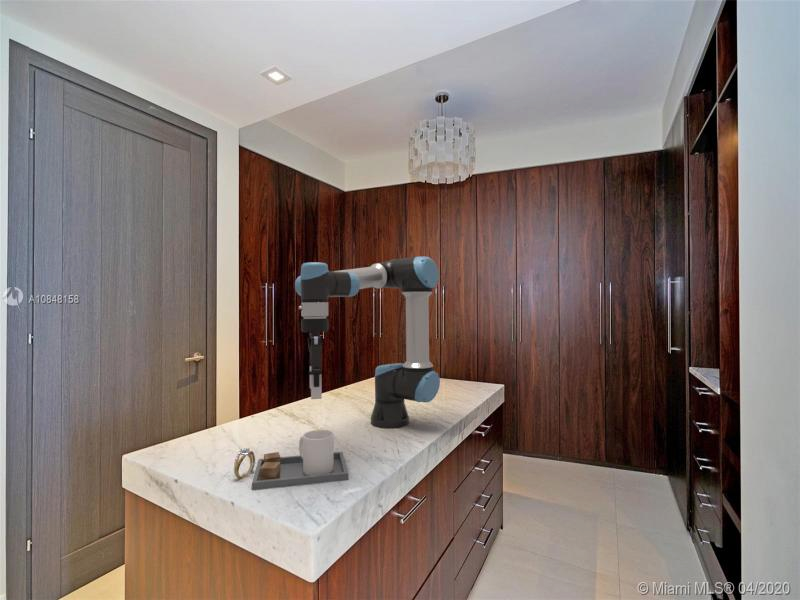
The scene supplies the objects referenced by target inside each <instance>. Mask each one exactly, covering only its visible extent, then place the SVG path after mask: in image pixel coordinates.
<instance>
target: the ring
mask: <svg viewBox="0 0 800 600" xmlns="http://www.w3.org/2000/svg"><path fill="white" fill-rule="evenodd" d="M246 456H247V457H248V458H249V461H250V462H249V463H250V464H249V469H248V471H247V472H246V473H245V474H244V473H243V475H240V473H239V471H240V467H241V464H242V463H243V461H244V459H245V458H246ZM255 463H256V456H255V453H254V451H252V450H251V449H250V447H248V448H247V447H246V448H245V447H244V448H241V449H240V450H239V451H238V452H237V454H236V456H235V459H234V464H233V473H234V474H233V475H234V477H236V478H237V479H239V480H241V479H243V478H245V477H247V476H249V475H250V474H252V472H253V470H254V467H255V466H256V465H255Z"/></svg>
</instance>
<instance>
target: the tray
mask: <svg viewBox="0 0 800 600" xmlns="http://www.w3.org/2000/svg"><path fill="white" fill-rule="evenodd" d="M263 464H264V458H258V460H257V464H256V467H255V471H254V475H253V478H252V481H251V490H252V491H256V490H264V489H265V490H266V489H275V488H284V487H294V486H303V485H313V484H322V483H323V484H324V483H332V482H339V481H340V482H342V481H349V471H348V470H349V469H348V466H347V463H346V459H345V455H344V452H343V451H336V452H335V451H334V466H333V471H332V472H331V473H330V474H320V475H310V476H307V475H305V474H304V472H303V459H302V458H301V456H300V454H299V455H289V456H280V478H279V479H270V480H260V467H261V466H262V465H263Z"/></svg>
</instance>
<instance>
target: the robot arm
mask: <svg viewBox="0 0 800 600" xmlns="http://www.w3.org/2000/svg"><path fill="white" fill-rule="evenodd" d="M439 277H440V273H439V269H438V266H437V264H436V263H435V261H434V260H433V259H432V258H431V257H429V256H410V257H403V258H394V259H390V260H387V261H383V262H378V263H377V262H376V263H373V264H371V265H370V266H367V267H357V268H349V269H342V270H341V269H340V270H334V271H333V270H332V271H331V270H329V266H328V264H327V263H325V262H318V261H317V262H312V261H311V262H310V261H309V262H303V263H302V264H301V267H300V275H299V276H297V278H296V279H295V282H294V290H295V292H296V294H297V295H298V296H300V303H301V304H300V305H299V306H298V310H301V311H300V313H301V314H300V316H301V317H303V318H301V321H300V330H301V332H302V333H309V337H308V338H307V346H308V352H309V359H308V362H309V363H308V364H309V371H308V375H309V389H310V400H319V399H320V400H322V398H323V397H322V394H323V393H322V391H323V390H322V382H323V381H322V372H323V369H322V352H323V347H322V346H323V338H322V337H321V336H320V333H325V332H328V331H329V319H328V318H327V317H329V298H335V297H336V298H340V297H341V298H342V297H343V298H349V297H350V298H351V297H354V296H356V295H357V294H358V293H359V291H360V290H363V289H370V288H374V289H385V288H386V289H387V288H388V289H401V294H402V295H403V296H404V297H405V337H406V339H405V343H406V344H405V345H406V346H405V347H406V348H405V349H406V350H405V351H406V355H405V358H406V359H405V360H406V361H405V362H404V363H401V362H399V363H387V364H381V365H378V366H376V368H375V370H374V371H375V374H374V395H375V396H374V398H375V399H374V400H375V401H374V405H373V409H372V413H371V415H370V424H371V425H373V426H375V427H377V428H382V429H393V428H401V427H405V426H408V424H409V423H410V416H409V413H408V409H407V408H406V404H405V400H407V401H412V402H416V403H430V402H432V401H433V400H434V399H435V398H436V396H437V394H438V392H439V390H440V385H441V379H440V376H439V373H438V372H436V370H434V365H433V363H432V362H431V361H430V323H429V322H430V321H429V319H430V316H429V315H430V314H429V310H430V309H429V307H430V304H429V303H430V302H429V298H430V296H431V295H432V294H433V292H434V291H433V288H435V287H436V286H437V285H438V283H439V280H440V279H439Z"/></svg>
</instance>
